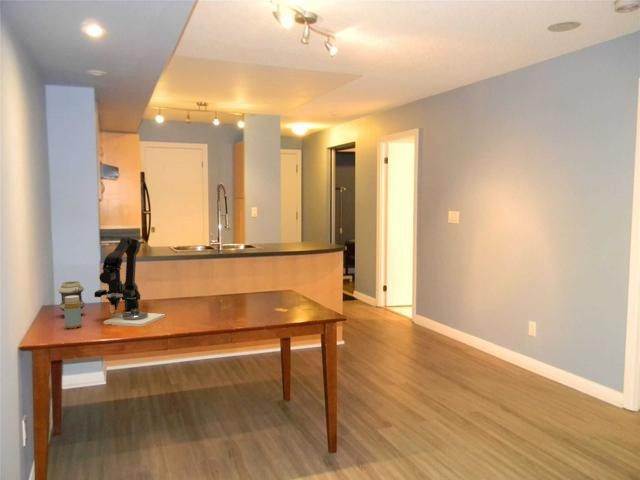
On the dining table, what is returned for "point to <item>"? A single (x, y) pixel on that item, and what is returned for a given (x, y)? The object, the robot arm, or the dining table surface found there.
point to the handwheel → (130, 316)
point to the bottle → (72, 311)
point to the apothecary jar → (71, 292)
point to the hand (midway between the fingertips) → (115, 310)
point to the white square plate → (136, 322)
